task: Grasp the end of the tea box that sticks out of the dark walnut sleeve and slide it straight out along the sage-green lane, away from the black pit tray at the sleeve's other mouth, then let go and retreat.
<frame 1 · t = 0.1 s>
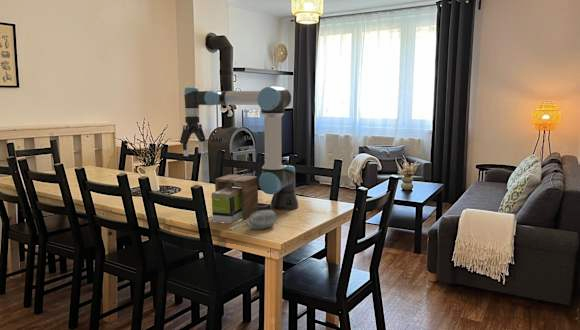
hand: (193, 154, 249), 28 cm above the table, fingers open, 13 cm apart
tea box: (228, 219, 222), on the table
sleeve: (237, 215, 230), on the table
lane: (220, 223, 215), on the table
pit tray: (249, 209, 241), on the table
gray ridged ovoid: (262, 228, 207), on the table
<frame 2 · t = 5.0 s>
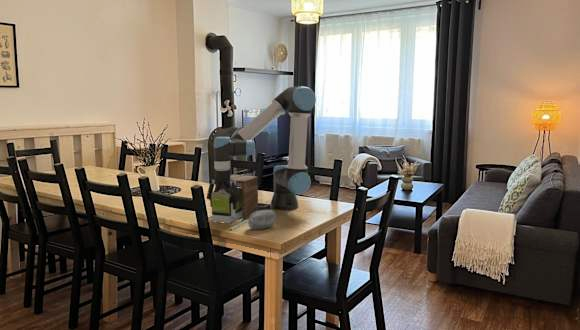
hand: (223, 214, 217), 3 cm above the table, fingers closed on tea box, 10 cm apart
tea box: (228, 219, 222), on the table, touching gripper
everything else where it was.
when the fingers open (3 cm above the table, at t = 8.5 s): tea box stays where it is, on the table.
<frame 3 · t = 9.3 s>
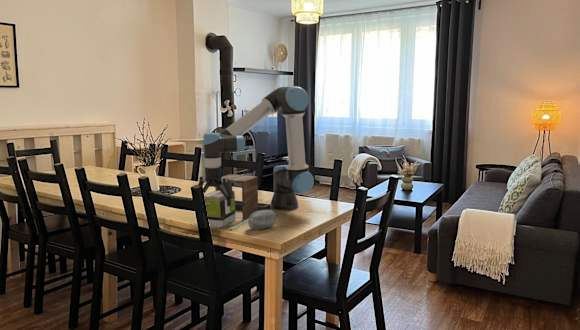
hand: (215, 211, 210), 7 cm above the table, fingers open, 13 cm apart
tea box: (219, 223, 215), on the table
everything else where it was.
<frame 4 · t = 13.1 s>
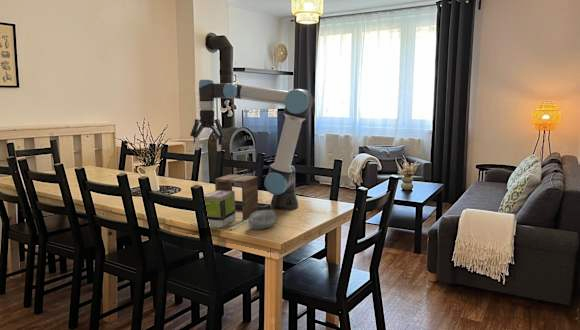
hand: (208, 150, 237), 32 cm above the table, fingers open, 13 cm apart
nothing on the table moved.
at the end: tea box tilted 0°; the gripper is holding nothing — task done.
